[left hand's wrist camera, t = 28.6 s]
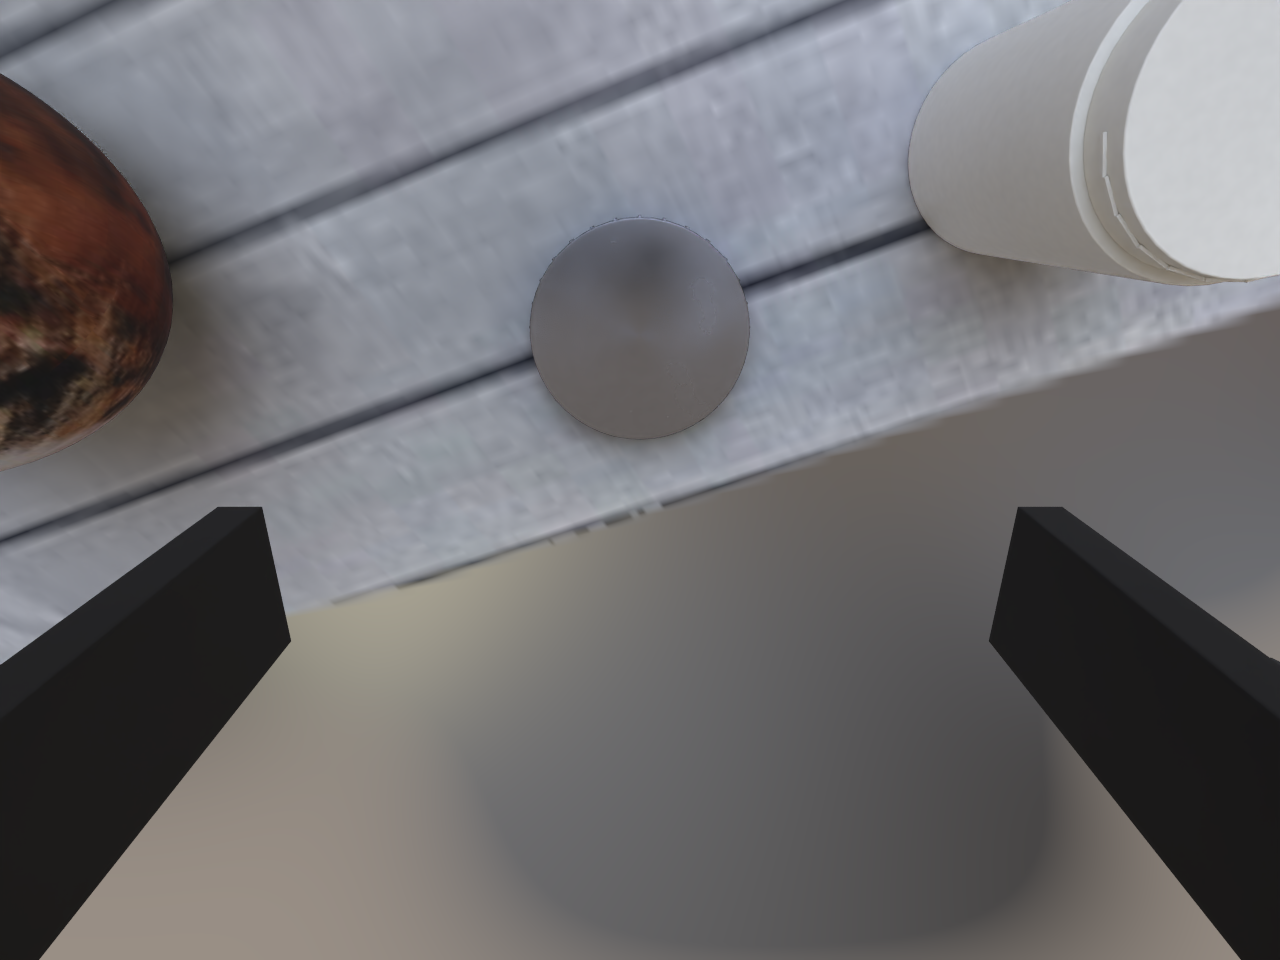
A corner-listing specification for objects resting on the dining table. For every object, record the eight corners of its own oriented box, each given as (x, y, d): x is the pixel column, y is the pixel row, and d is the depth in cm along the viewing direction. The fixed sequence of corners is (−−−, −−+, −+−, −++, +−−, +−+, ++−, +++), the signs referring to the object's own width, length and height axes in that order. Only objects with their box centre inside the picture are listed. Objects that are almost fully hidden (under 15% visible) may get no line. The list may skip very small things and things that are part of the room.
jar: (949, 291, 36) (1159, 352, 22) (876, 104, 33) (1064, 28, 19) (1139, 190, 35) (1509, 182, 20) (1082, -18, 32) (1470, -209, 17)
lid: (718, 187, 35) (723, 186, 33) (764, 398, 39) (771, 409, 37) (505, 250, 36) (497, 253, 34) (571, 450, 40) (567, 463, 38)
